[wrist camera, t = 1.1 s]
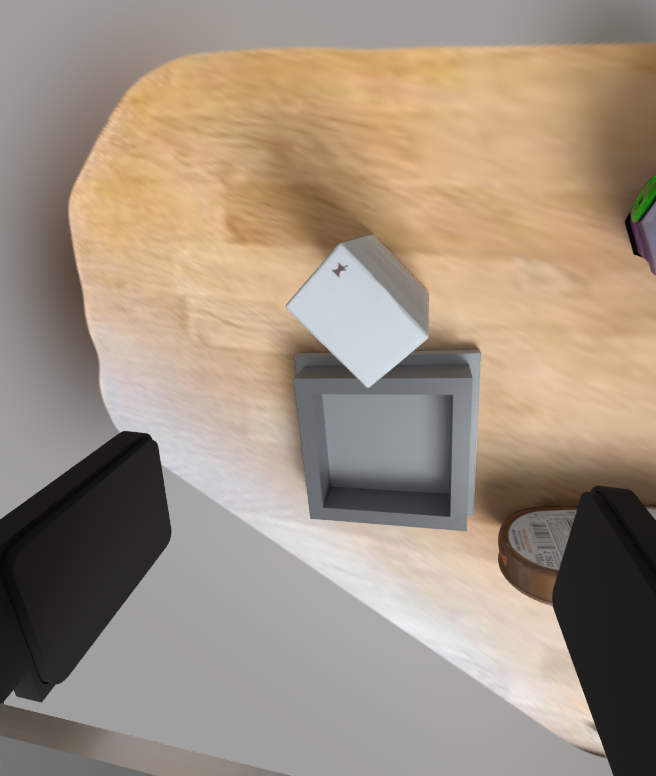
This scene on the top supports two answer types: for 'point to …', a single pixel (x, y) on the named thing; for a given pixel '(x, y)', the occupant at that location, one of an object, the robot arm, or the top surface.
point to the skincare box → (364, 308)
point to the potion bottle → (644, 224)
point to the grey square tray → (391, 439)
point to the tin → (536, 548)
